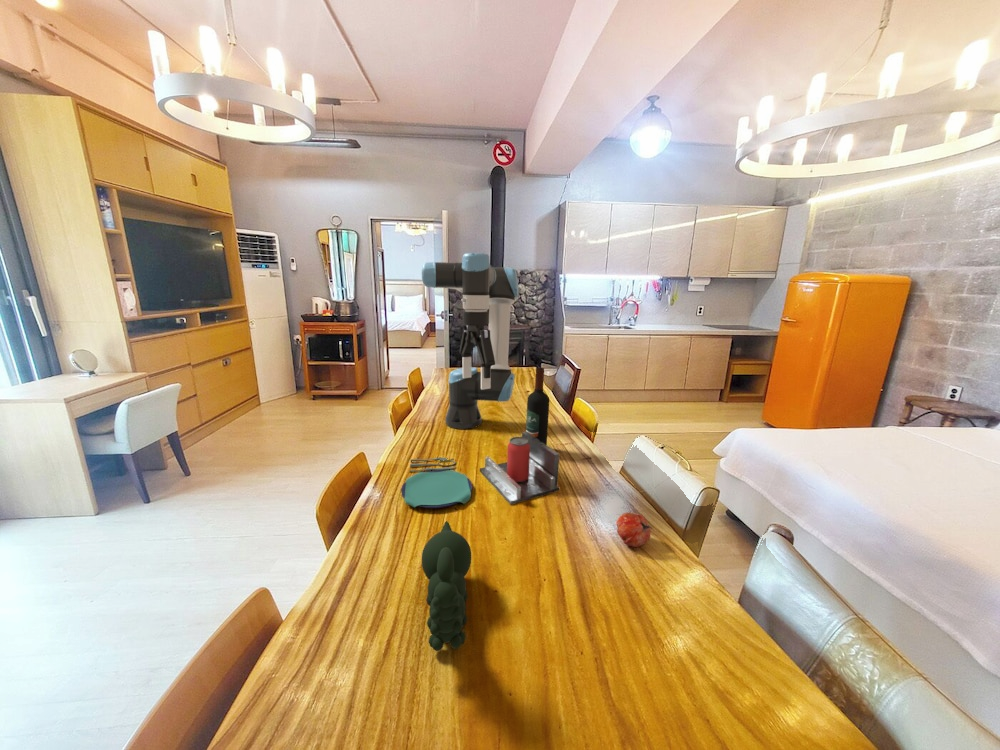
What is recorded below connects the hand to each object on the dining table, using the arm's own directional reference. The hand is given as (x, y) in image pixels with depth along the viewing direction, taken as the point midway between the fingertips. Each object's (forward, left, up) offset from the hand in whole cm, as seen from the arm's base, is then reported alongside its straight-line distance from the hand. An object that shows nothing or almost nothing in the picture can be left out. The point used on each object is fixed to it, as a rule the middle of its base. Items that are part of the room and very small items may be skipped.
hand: (475, 383), depth 110 cm
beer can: (+11, +9, -28) cm, 31 cm away
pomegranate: (+46, +19, -29) cm, 58 cm away
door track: (+11, +9, -29) cm, 32 cm away
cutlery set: (+1, -13, -29) cm, 32 cm away
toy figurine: (+44, -25, -29) cm, 58 cm away
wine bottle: (-4, +25, -29) cm, 38 cm away
